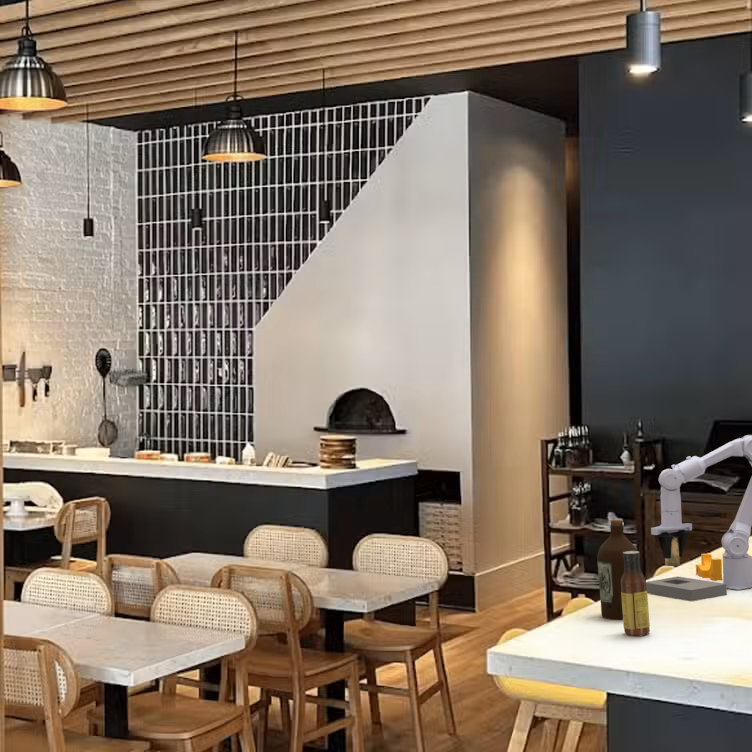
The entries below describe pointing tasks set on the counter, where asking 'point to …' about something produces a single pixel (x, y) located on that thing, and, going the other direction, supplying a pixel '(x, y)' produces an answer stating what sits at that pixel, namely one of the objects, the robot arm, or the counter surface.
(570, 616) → the counter surface
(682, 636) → the counter surface
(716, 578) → the pipe clamp
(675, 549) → the pin
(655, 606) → the counter surface
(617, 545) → the olive oil
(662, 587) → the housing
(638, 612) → the sauce bottle
